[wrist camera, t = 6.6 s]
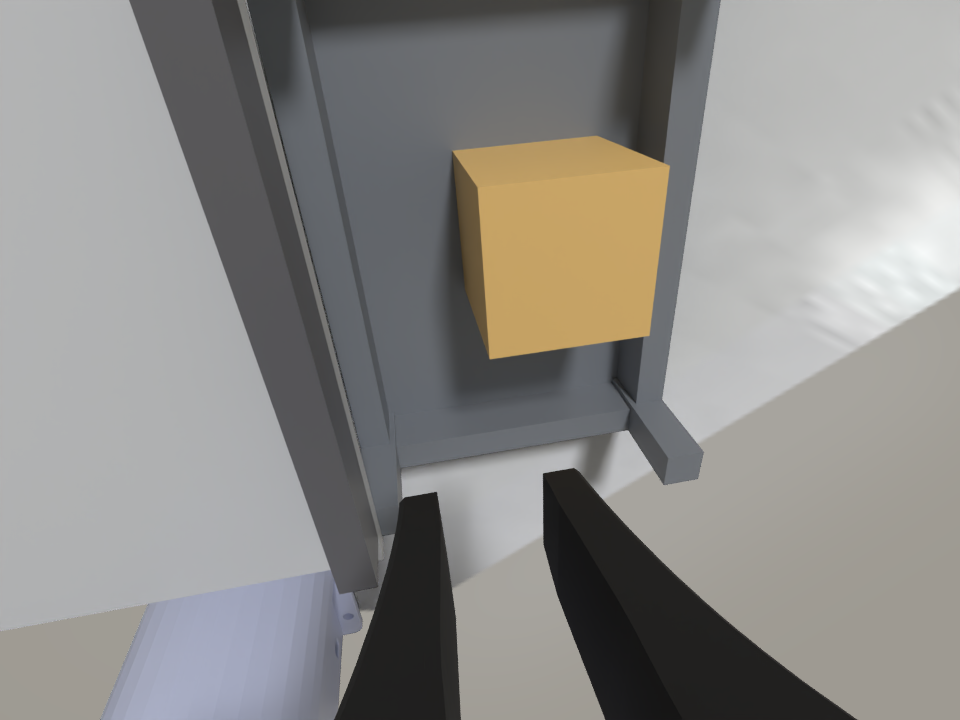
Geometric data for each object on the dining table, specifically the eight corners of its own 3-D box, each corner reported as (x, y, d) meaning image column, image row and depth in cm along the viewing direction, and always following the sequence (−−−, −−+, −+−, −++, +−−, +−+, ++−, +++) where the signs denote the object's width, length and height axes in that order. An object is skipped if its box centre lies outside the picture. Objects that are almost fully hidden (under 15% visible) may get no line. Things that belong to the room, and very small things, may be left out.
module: (590, 272, 18) (649, 335, 14) (464, 289, 17) (489, 359, 13) (596, 135, 15) (670, 165, 12) (451, 150, 15) (477, 187, 11)
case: (630, 386, 22) (697, 479, 17) (368, 428, 21) (365, 539, 16) (683, -120, 13) (845, -208, 9) (244, -97, 12) (160, -184, 8)
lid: (383, 543, 16) (384, 609, 14) (-4, 614, 15) (-59, 695, 13) (194, -195, 7) (132, -275, 5) (-760, -164, 6) (-1243, -253, 4)
